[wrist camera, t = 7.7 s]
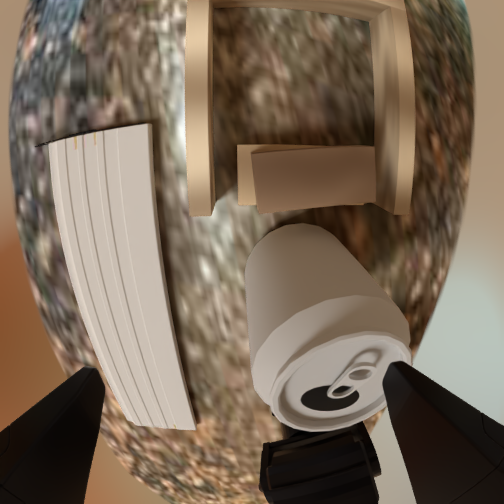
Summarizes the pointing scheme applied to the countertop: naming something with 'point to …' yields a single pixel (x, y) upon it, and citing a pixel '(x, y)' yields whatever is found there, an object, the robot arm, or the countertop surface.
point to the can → (319, 330)
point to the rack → (385, 95)
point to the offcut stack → (305, 176)
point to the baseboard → (121, 269)
